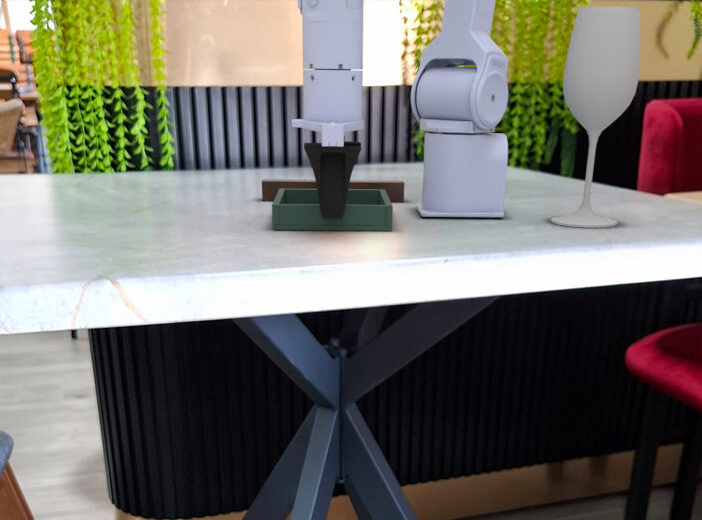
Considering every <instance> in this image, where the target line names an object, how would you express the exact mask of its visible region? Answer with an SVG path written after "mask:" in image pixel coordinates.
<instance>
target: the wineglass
mask: <svg viewBox="0 0 702 520" xmlns="http://www.w3.org/2000/svg"><path fill="white" fill-rule="evenodd" d="M640 16H641V15H640V8H639V7H635V6H620V5H619V6H613V5H612V6H609V5H607V6H605V5H603V6H584V7H579V8H578V11H577V14H576V17H575V21H574V26H573V28H572V33H571V35H570V41H569V46H568V50H567V54H566V60H565V65H564V70H563V81H562V92H563V97H564V101H565V104H566V106H567V108H568V110H569V111H570V114H571V115H572V116H573V117H574V118H575V119H576V120H577V122H578V123H579V124H580V125H581V126H582V127H583V128H584V129H585V130H586V133H587V135H588V153H587V161H586V169H585V170H586V171H585V172H586V173H585V178H584V179H585V180H584V187H583V188H584V189H583V196H582V200H581V204H580V206H579V207H578V209H577V210H576V211H574V212H572V213H569V214H565V215H559V216H554V217H551V218H550V222H551V223H552V224H555V225H559V226H565V227H572V228H588V229H590V228H591V229H592V228H593V229H594V228H596V229H597V228H600V229H601V228H610V227H615V226H617V225H618V220H615V219H613V218H608V217H605V216H602V215H599V214H597V213H595V212H594V211H593V208H592V205H591V193H592V184H593V175H594V166H595V159H596V150H597V144H598V140H599V137H600V136H601V134H602V132H603V131H604V130H606V129H607V128H608V127H609V126H610V125H611V124H613V123H614V122H616V120H618V118H620V116H622V114H623V113H624V112H625V111H626V110H627V109H628V108H629V106H630V105H631V104H632V101H633V99H634V97H635V96H636V93H637V87H638V84H639V78H640V65H641V19H640Z"/></svg>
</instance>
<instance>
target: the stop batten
mask: <svg viewBox="0 0 702 520" xmlns="http://www.w3.org/2000/svg"><path fill="white" fill-rule="evenodd" d="M280 188H284V189H317V185H316V180H315V179H290V178H289V179H279V178H278V179H275V178H274V179H273V178H266V179H265V178H263V179H262V180H261V200H262V202H274V200H275V197H276V195H277V193H278V191H279V189H280ZM349 189H385V191H386V193H387V195H388V197H389V199H390V201H391V203H404V202H405V181H404V180H388V179H387V180H386V179H385V180H384V179H383V180H382V179H380V180H379V179H377V180H374V179H371V180H370V179H350V183H349Z"/></svg>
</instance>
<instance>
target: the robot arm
mask: <svg viewBox="0 0 702 520" xmlns="http://www.w3.org/2000/svg"><path fill="white" fill-rule="evenodd" d="M364 1H365V0H297V9H299V14H300V15H301V16H302V17H301V18H302V19H301V23H302V29H301V30H302V69H303V70H302V83H303V84H302V86H303V87H302V89H303V90H302V91H303V93H302V94H303V95H302V96H303V98H302V99H303V100H302V101H303V118H293V119H291V128H299V129H300V128H301V129H302V130H307V131H311V132H317V133H320V134H319V135H320V136H321V142H304V143H303V149H304V152H305V154H306V156H307V158H308V161H309V164H310V166H311V169H312V172H313V176H314V180H316V185H317V192H318V198H319V204H320V210H321V214H322V217H323V218H332V219H342V218H343V216H344V212H345V207H346V202H347V195H348V189H349V183H350V180H351V177H352V174H353V171H354V168H355V165H356V162H357V160H358V158H359V156H360V153H361V152H362V149H363V148H362V142H361V141H351V140H349V141H348V140H347V141H345V136H347V135H348V133H350V132H356V131H362V130H364V129H365V120H363V76H364V75H363V74H364V73H363V72H364V71H363V69H364V68H363V67H364V66H363V65H364V3H365V2H364ZM496 1H497V0H444V8H443V15H442V23H441V31H440V33H438V35H437V36H436V37H435V38H434V39H433V40H432V41H431V42H430V43H429V44H428V45H427V46H426V47H425V48H424V49H423V50H422V52H421V54H420V55H421V56H420V63H419V67H418V71H417V73H416V75H415V77H414V79H413V82H412V85H411V90H410V107H411V110H412V114H413V116H414V118H415V119H416V121H417V122H418V123H419V130H420V131H425V132H424V144H423V145H424V147H423V171H422V173H423V175H422V195H421V196H422V197H421V203H416V204H415V208H416V210H417V211H418V213H419V215H420V217H424V218H504V217H505V199H506V188H507V187H506V186H507V174H508V161H509V143H508V137H507V134H505V133H497V132H496V133H495V131H496V127H497V125H498V124H499V123H500V122H501V120H502V119H503V117H504V115H505V113H506V110H507V107H508V103H509V87H508V78H507V77H508V75H507V74H508V66H509V58H508V57H507V55H506V54H505V53H504V52H503V50H502V49H501V48H500V47H499V46H498V45H497V43H496V42H495V41H494V40H493V39H492V38H491V34H492V28H493V20H494V14H495V7H496Z"/></svg>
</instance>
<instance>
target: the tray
mask: <svg viewBox="0 0 702 520" xmlns="http://www.w3.org/2000/svg"><path fill="white" fill-rule="evenodd" d="M393 208H394V207H393V204H392V202H391V201H390V199H389V197H388V195H387V193H386V191H385V189H348V195H347V202H346V207H345V212H344V216H343V218H342V219H332V218H323V217H322V214H321V210H320V204H319V198H318V192H317V189H284V188H280V189H279V191H278V193H277V195H276V197H275V200H274V201H272V204H271V219H272V221H271V222H272V230H273V231H352V232H353V231H355V232H356V231H359V232H360V231H361V232H362V231H363V232H364V231H367V232H368V231H370V232H377V231H378V232H392V231H393V212H394V209H393Z"/></svg>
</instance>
